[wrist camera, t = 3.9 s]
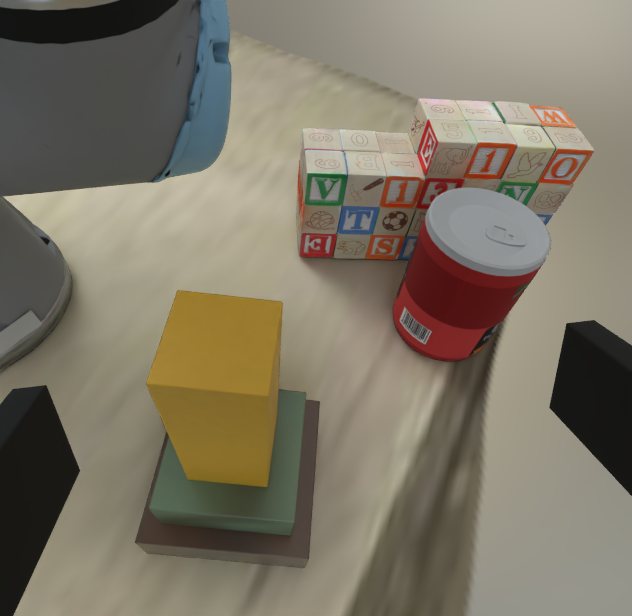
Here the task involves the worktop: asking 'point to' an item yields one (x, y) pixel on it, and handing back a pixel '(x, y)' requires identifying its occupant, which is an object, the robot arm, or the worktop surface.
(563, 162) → the stack of blocks
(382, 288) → the worktop surface
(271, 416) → the bar
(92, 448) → the worktop surface
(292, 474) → the green brown stepped block
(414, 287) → the canned food
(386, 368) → the worktop surface
